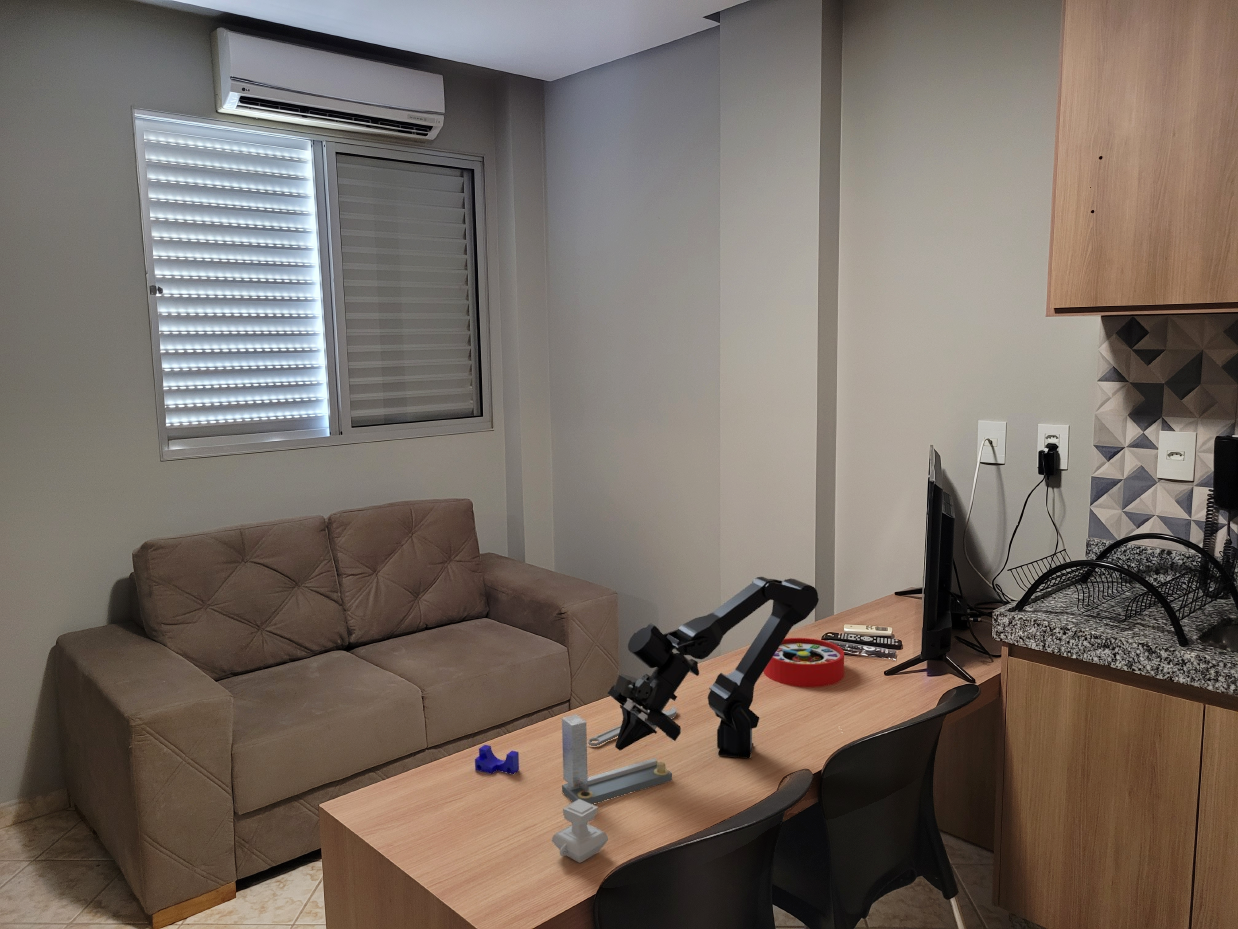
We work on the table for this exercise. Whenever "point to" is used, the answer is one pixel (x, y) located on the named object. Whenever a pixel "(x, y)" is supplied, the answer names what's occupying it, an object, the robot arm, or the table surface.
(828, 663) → the toy clock
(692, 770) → the table surface
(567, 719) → the sliding jaw
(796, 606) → the robot arm
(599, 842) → the stamp
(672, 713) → the adjustable wrench
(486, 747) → the cable holder
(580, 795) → the plate
